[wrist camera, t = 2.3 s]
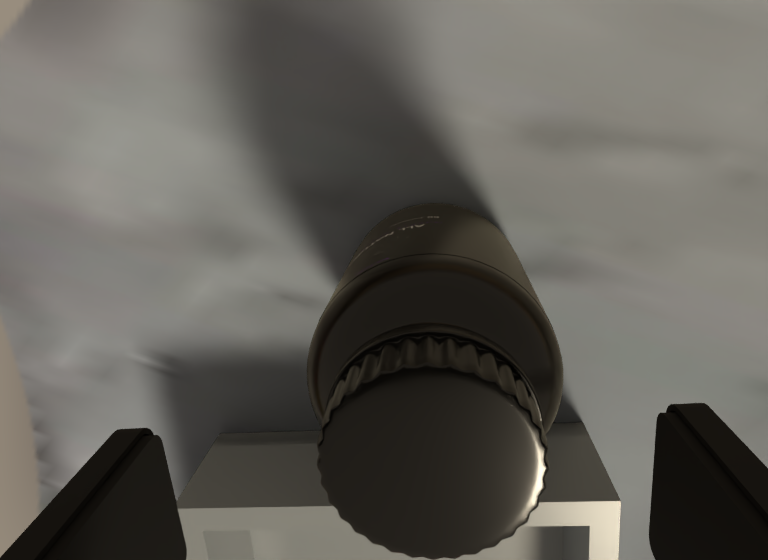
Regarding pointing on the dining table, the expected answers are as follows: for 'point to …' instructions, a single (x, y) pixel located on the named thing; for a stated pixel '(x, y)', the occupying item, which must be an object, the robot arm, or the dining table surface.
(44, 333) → the dining table surface
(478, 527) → the supplement bottle
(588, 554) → the tray
